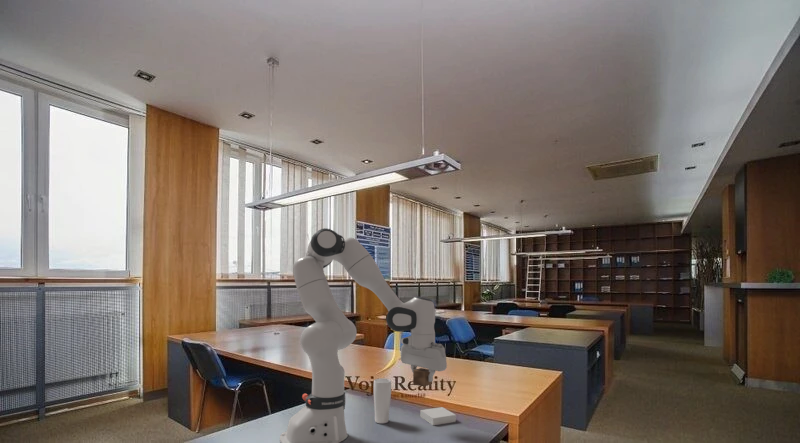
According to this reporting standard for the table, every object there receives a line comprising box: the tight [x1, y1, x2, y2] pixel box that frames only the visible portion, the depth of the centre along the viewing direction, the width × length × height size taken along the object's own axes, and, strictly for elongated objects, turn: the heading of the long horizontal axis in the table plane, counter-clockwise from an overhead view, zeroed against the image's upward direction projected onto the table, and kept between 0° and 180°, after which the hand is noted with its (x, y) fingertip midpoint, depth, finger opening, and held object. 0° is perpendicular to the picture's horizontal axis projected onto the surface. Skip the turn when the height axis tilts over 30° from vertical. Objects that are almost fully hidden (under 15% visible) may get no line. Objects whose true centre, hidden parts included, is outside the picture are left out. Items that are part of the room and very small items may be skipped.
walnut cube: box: [412, 367, 433, 388], centre depth 153 cm, size 5×5×5 cm
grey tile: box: [419, 406, 457, 426], centre depth 161 cm, size 10×10×2 cm
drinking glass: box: [373, 377, 392, 425], centre depth 158 cm, size 7×7×15 cm
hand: (422, 379), depth 153 cm, fingers closed on walnut cube, 5 cm apart
